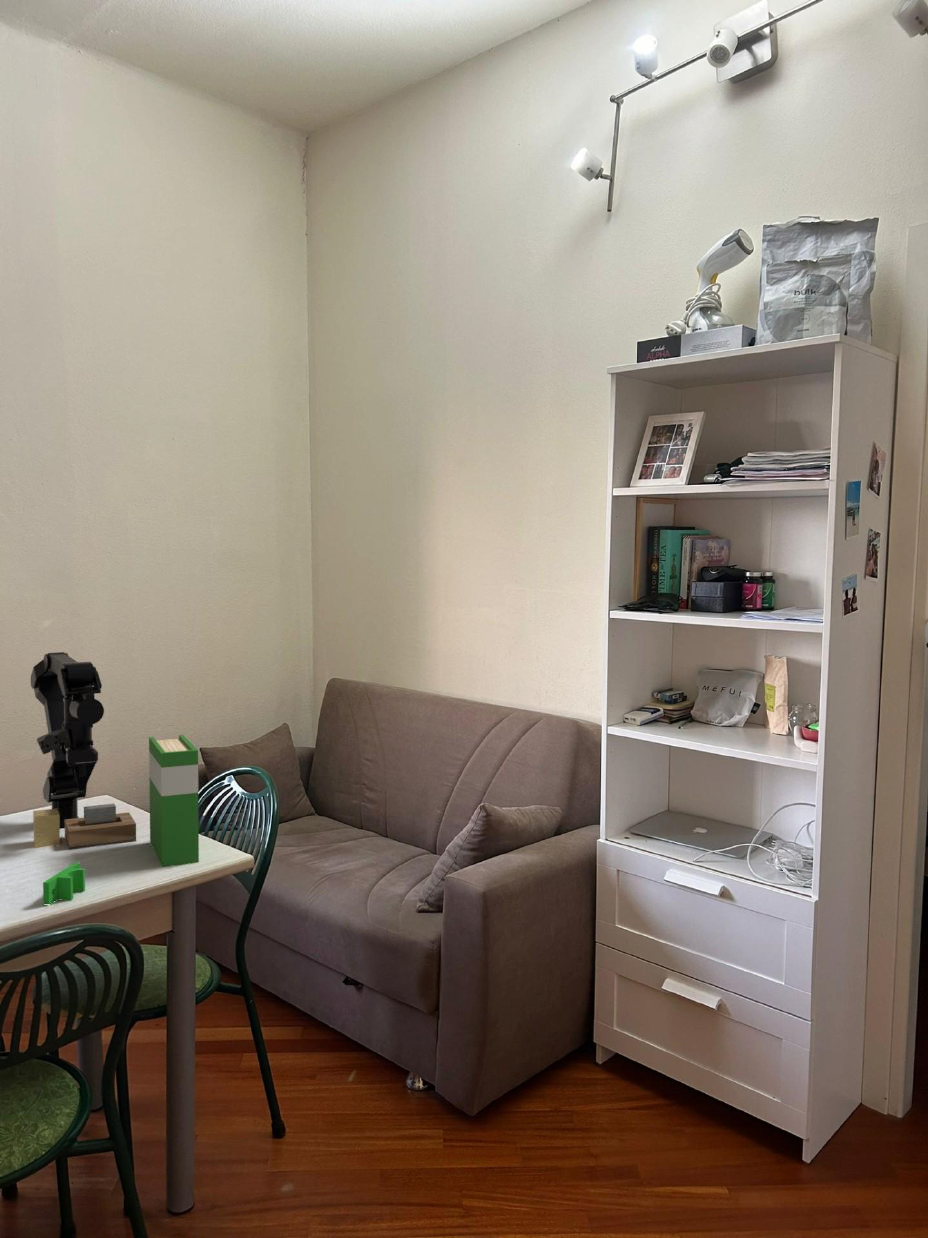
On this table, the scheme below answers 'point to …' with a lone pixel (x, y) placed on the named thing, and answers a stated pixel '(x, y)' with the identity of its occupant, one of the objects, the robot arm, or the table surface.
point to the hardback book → (174, 801)
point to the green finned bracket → (64, 884)
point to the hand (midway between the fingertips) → (79, 785)
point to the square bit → (46, 828)
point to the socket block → (100, 832)
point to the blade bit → (99, 814)
